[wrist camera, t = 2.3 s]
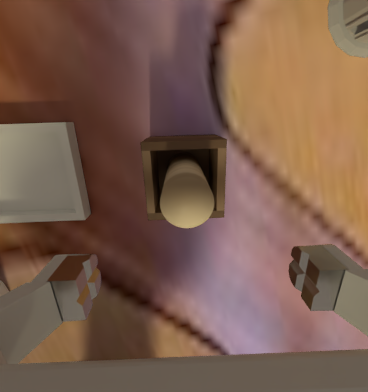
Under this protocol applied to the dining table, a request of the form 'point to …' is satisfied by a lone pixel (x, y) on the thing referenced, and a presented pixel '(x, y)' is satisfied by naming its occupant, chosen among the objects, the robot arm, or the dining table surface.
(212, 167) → the pen pot
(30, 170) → the tray
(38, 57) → the dining table surface
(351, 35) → the french press
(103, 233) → the dining table surface
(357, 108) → the dining table surface
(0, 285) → the canister
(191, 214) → the dowel
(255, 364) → the robot arm
